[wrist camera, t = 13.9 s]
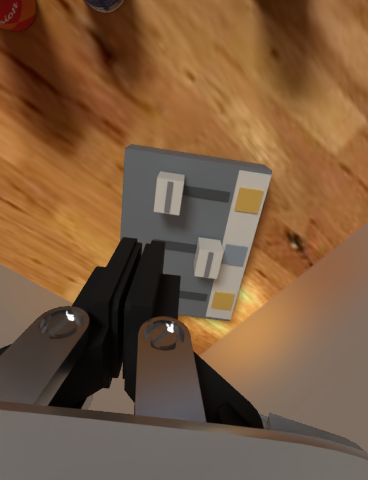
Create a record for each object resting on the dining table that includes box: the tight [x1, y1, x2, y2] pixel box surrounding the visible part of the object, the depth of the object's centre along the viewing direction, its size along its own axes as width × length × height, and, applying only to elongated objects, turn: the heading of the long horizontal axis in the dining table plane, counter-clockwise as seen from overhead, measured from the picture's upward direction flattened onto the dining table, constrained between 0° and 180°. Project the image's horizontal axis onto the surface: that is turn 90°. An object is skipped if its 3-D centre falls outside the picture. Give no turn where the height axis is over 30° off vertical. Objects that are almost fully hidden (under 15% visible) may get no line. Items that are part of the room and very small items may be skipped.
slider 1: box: [154, 171, 184, 215], centre depth 33 cm, size 3×4×4 cm
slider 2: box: [194, 237, 223, 279], centre depth 36 cm, size 3×4×4 cm
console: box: [120, 144, 272, 321], centre depth 40 cm, size 18×24×4 cm
